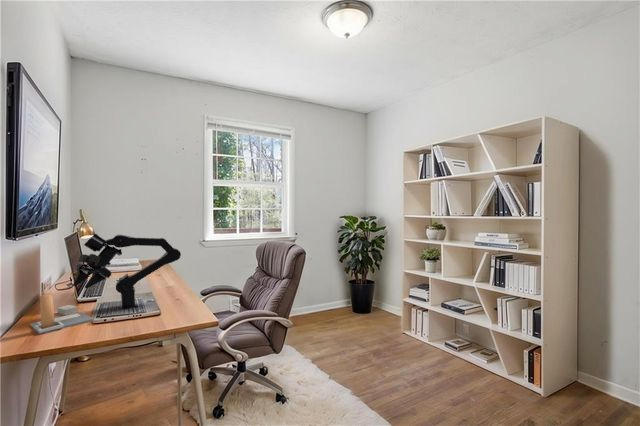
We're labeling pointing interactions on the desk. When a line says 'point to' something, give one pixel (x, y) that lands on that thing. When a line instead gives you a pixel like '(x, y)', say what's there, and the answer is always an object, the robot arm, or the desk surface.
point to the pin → (47, 311)
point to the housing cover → (67, 310)
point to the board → (63, 322)
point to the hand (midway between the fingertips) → (79, 286)
